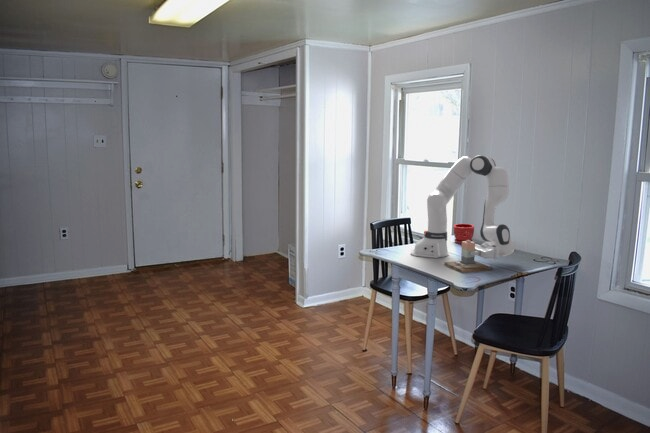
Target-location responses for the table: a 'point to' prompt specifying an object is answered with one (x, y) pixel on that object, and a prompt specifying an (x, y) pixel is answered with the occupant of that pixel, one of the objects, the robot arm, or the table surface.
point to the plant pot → (463, 232)
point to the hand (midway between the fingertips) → (466, 251)
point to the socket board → (467, 266)
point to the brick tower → (467, 252)
